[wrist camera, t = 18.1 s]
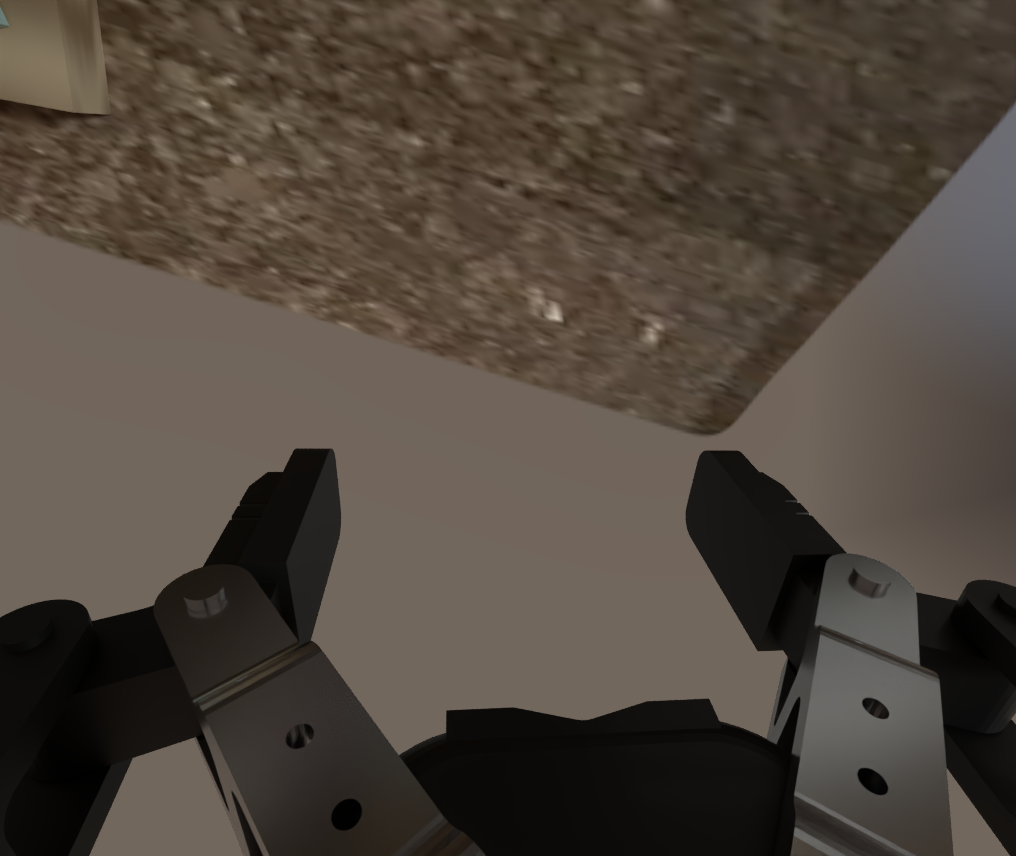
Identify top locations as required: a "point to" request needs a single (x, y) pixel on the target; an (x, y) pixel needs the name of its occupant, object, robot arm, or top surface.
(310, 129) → the top surface
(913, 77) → the top surface
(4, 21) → the teal block
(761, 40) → the top surface
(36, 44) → the oak block
